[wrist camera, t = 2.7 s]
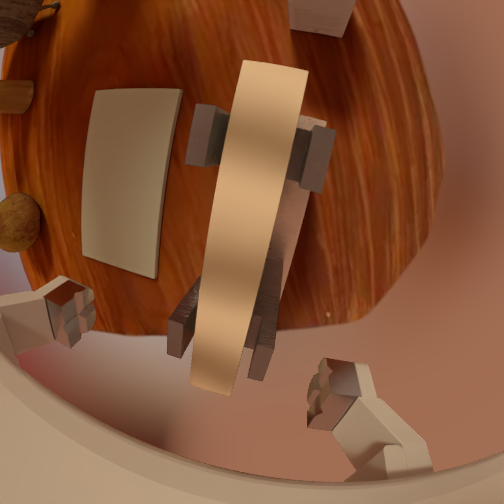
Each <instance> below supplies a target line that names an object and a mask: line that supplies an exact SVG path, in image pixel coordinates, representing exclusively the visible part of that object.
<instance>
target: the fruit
mask: <svg viewBox="0 0 504 504" xmlns="http://www.w3.org/2000/svg"><path fill="white" fill-rule="evenodd" d="M39 232H40V210H39V206H38V204H37V203H36V201H35V200H34V199H33V198H32V197H30V196H29V195H27V194H24V193H14V194H11V195H9V196H8V197H6V198H5V199H4V200H2V202H1V203H0V248H1V249H2V250H4V251H7V252H21V251H24V250H26V249H28V248H29V247H30V246H31V245H32V244H33V243H34V242H35V240H36V239H37V237H38V235H39Z"/></svg>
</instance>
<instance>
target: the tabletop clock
mask: <svg viewBox="0 0 504 504" xmlns="http://www.w3.org/2000/svg"><path fill="white" fill-rule="evenodd" d="M43 1H44V0H0V48H3V47H5V46H8V45H10V44H12V43H14V42H16V41H17V40H19V39H21V38H22V37H23V36H24V35H25V34H26V33H27V37H32V36H33V35H34V30H29V29H30V28H31V27H32V25H33V22H34V20H35V18H36V16H37V13H38V12H39V11H41V10H43V9H46V8H50V7H52V9H56V8H57V7H59V5H60V2H59V1H55V2H53V3H52V5H45V6H41V5H42V3H43Z"/></svg>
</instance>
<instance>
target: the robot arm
mask: <svg viewBox="0 0 504 504" xmlns="http://www.w3.org/2000/svg"><path fill="white" fill-rule="evenodd" d="M93 300H94V292H93V290H92V289H91V288H89V287H87V286H85V285H83V284H80V283H78V282H76V281H74V280H71V279H69V278H67V277H65V276H59V277H57V278H55V279H54V280H52V281H51V282H49V283H47V284H46V285H44V286H43V287H41V288H40V289H38V290H36V291H35V292H33V291H27V292H21V293H15V294H9V295H2V296H0V504H504V451H502V452H499V453H497V454H494V455H492V456H489V457H486V458H484V459H481V460H477V461H474V462H471V463H468V464H465V465H461V466H458V467H454V468H450V469H447V470H442V471H438V472H434V471H433V467H432V463H431V459H430V456H429V452H428V449H427V445H426V442H425V441H424V440H423V439H422V438H421V437H420V436H419V435H418V434H417V433H416V432H415V431H414V430H413V429H412V428H411V427H410V426H409V425H408V424H407V423H406V422H404V421H403V420H402V419H401V418H400V417H399V416H398V415H397V414H396V413H395V412H394V411H393V410H392V409H391V408H390V407H389V406H388V405H387V404H386V403H385V402H384V401H383V400H382V399H377V395H376V391H375V388H374V384H373V380H372V377H371V373H370V370H369V366H368V365H367V364H366V363H358V362H348V361H342V360H335V359H330V358H323V359H322V360H321V362H320V364H319V366H318V368H319V373H317V374H316V375H314V376H313V378H312V380H311V382H310V385H309V389H308V394H307V402H308V403H309V405H310V406H311V407H310V408H309V410H308V411H307V428H312V429H320V430H327V431H332V434H333V435H334V437H335V438H336V440H337V441H338V443H339V445H340V446H341V448H342V449H343V451H344V452H345V454H346V456H347V457H348V459H349V460H350V462H351V463H352V465H353V466H354V467H355V469H356V472H355V473H354V474H353V475H351V476H350V477H349V478H347V479H346V480H345V481H344V482H316V481H301V480H290V479H281V478H273V477H266V476H259V475H254V474H249V473H244V472H239V471H234V470H229V469H225V468H221V467H217V466H213V465H209V464H206V463H202V462H198V461H195V460H192V459H189V458H186V457H182V456H180V455H177V454H174V453H171V452H168V451H166V450H163V449H160V448H158V447H155V446H153V445H150V444H148V443H145V442H143V441H141V440H138V439H136V438H134V437H131V436H129V435H127V434H125V433H123V432H121V431H118V430H117V429H114V428H112V427H111V426H109V425H107V424H105V423H103V422H101V421H99V420H97V419H95V418H94V417H92V416H90V415H88V414H87V413H85V412H83V411H81V410H79V409H78V408H77V407H75V406H73V405H72V404H70V403H69V402H67V401H65V400H64V399H62V398H61V397H59V396H58V395H56V394H55V393H53V392H52V391H51V390H49V389H48V388H46V387H45V386H44V385H42V384H41V383H40V382H38V381H37V380H35V379H34V378H33V377H32V376H30V375H29V374H28V373H27V372H25V371H24V370H23V369H22V368H20V364H19V361H18V359H17V356H16V355H18V354H21V353H24V352H26V351H29V350H32V349H34V348H37V347H39V346H42V345H45V344H47V343H50V342H53V341H54V340H56V341H58V342H60V343H61V344H63V345H65V346H67V347H69V348H72V347H73V346H74V345H75V344H76V343H77V342H78V341H79V340H80V339H81V334H82V333H86V332H88V331H89V330H90V329H91V328H92V327H93V325H94V323H95V319H96V310H95V308H94V306H93V304H92V302H93Z"/></svg>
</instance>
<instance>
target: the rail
mask: <svg viewBox="0 0 504 504" xmlns="http://www.w3.org/2000/svg"><path fill="white" fill-rule="evenodd" d="M308 72H309V71H306V70H301V69H296V68H292V67H286V66H281V65H275V64H269V63H263V62H256V61H248V60H243V64H242V68H241V72H240V76H239V80H238V84H237V88H236V93H235V97H234V101H233V106H232V110H231V115H230V119H229V124H228V129H227V133H226V138H225V143H224V148H223V153H222V158H221V163H220V168H219V174H218V179H217V184H216V190H215V195H214V201H213V207H212V213H211V219H210V225H209V231H208V237H207V244H206V250H205V257H204V264H203V271H202V278H201V285H200V293H199V301H198V309H197V317H196V325H195V334H194V343H193V353H192V363H191V374H190V385H191V386H194V387H198V388H201V389H204V390H207V391H211V392H214V393H218V394H221V395H225V396H229V397H230V396H231V392H232V389H233V385H234V381H235V378H236V374H237V371H238V367H239V363H240V359H241V356H242V352H243V347H244V344H245V340H246V336H247V333H248V329H249V325H250V321H251V317H252V313H253V309H254V305H255V301H256V297H257V293H258V289H259V285H260V281H261V277H262V273H263V269H264V265H265V261H266V257H267V253H268V249H269V245H270V241H271V236H272V232H273V228H274V224H275V220H276V216H277V211H278V207H279V203H280V199H281V195H282V190H283V186H284V182H285V177H286V173H287V169H288V164H289V160H290V156H291V151H292V147H293V142H294V138H295V133H296V129H297V125H298V120H299V115H300V111H301V106H302V102H303V97H304V93H305V88H306V83H307V77H308Z"/></svg>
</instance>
